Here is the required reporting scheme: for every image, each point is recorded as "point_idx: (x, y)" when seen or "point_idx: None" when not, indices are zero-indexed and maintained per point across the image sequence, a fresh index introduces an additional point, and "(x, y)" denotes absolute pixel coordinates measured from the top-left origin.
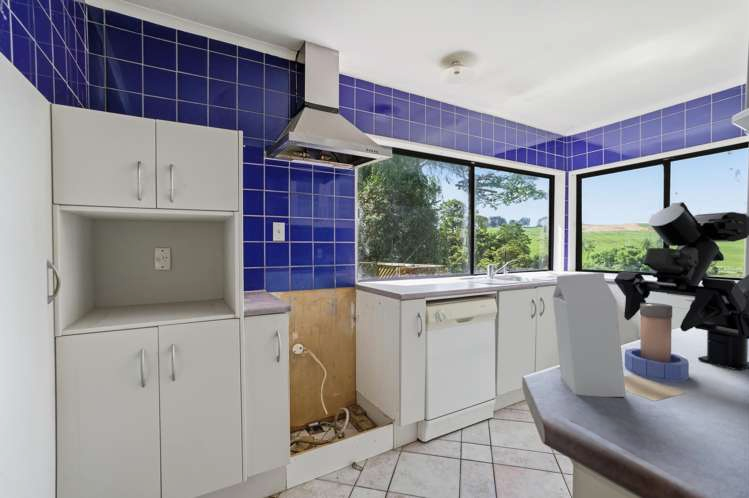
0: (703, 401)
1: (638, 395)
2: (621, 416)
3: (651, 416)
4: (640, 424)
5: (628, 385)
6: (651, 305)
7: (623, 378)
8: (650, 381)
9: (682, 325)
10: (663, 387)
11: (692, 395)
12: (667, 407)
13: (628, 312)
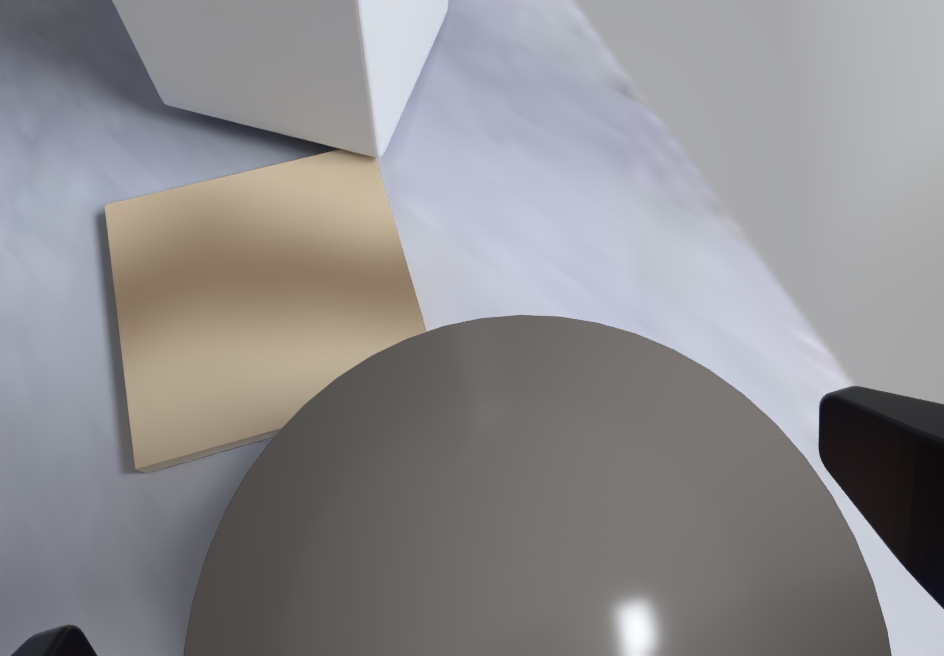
0: (70, 516)
1: (178, 188)
2: (77, 25)
3: (38, 126)
4: (5, 43)
5: (295, 232)
6: (466, 439)
7: (126, 26)
8: None
9: (28, 648)
10: (227, 400)
11: (149, 532)
12: (78, 258)
13: (883, 426)
